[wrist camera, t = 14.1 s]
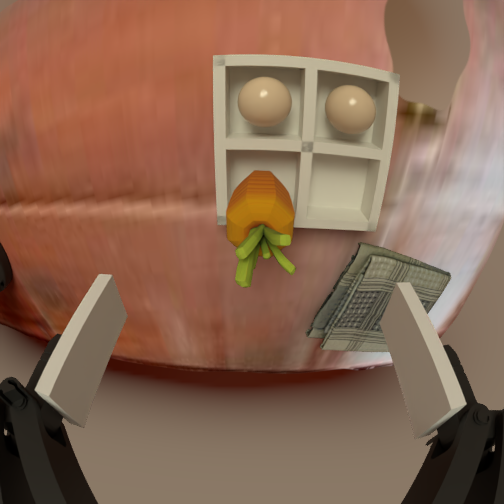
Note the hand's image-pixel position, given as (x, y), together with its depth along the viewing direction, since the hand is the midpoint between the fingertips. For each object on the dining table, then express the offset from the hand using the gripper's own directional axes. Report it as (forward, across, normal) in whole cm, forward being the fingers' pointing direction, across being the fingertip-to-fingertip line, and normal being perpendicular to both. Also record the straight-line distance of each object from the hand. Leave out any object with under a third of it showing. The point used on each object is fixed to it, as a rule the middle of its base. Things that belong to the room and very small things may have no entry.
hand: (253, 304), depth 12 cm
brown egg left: (+18, 0, -8) cm, 20 cm away
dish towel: (+19, -18, +18) cm, 32 cm away
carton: (+18, -4, -4) cm, 19 cm away
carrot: (+18, 0, 0) cm, 18 cm away
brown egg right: (+18, -8, -8) cm, 21 cm away
